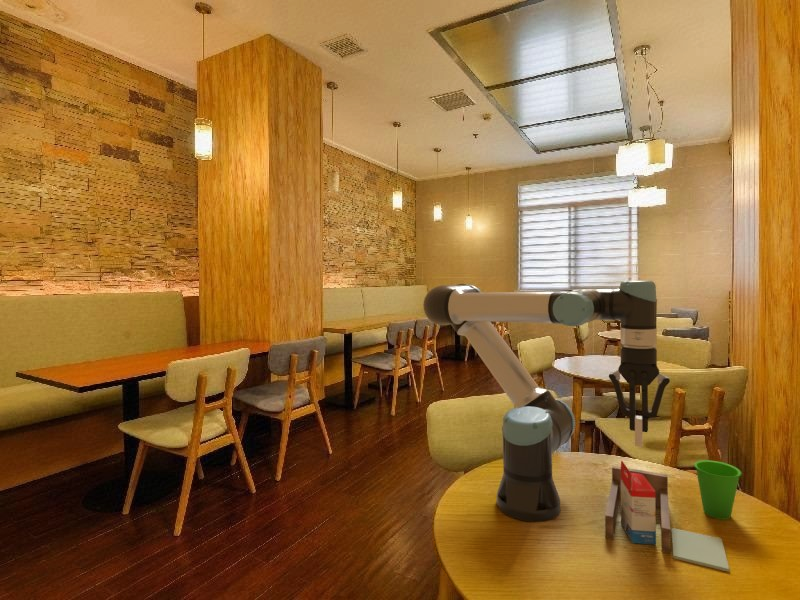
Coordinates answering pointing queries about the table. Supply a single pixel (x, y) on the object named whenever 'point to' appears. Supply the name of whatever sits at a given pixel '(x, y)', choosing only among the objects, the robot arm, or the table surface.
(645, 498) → the ink box
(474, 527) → the table surface
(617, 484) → the slot
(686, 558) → the pad
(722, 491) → the cup
